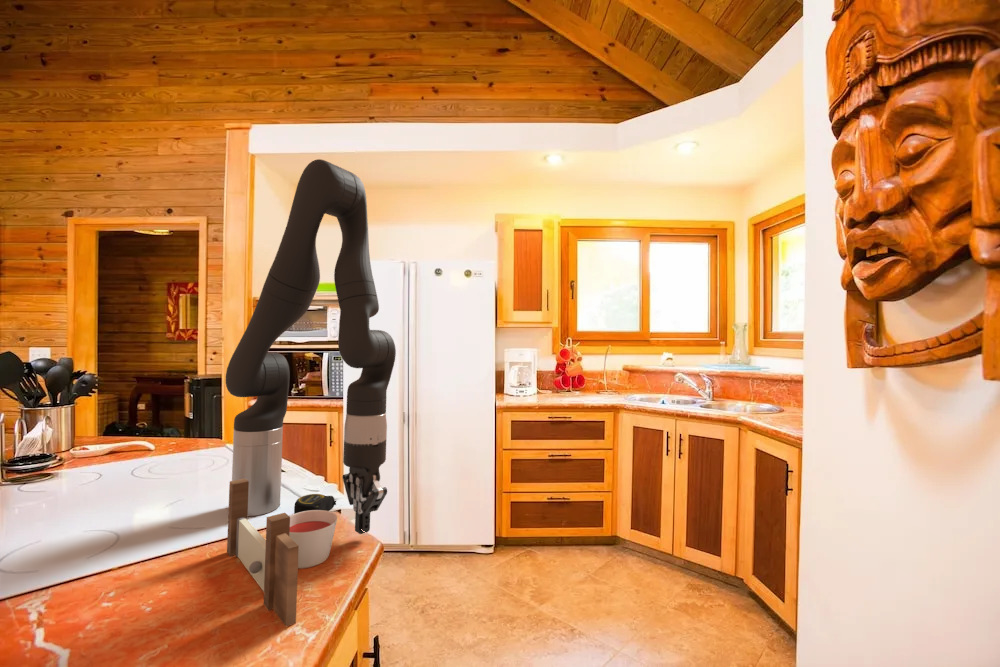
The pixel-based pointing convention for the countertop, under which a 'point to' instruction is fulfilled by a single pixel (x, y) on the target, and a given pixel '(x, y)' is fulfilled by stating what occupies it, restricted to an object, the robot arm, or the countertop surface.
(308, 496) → the tape measure
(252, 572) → the door
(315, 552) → the candle
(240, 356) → the robot arm
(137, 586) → the countertop surface
